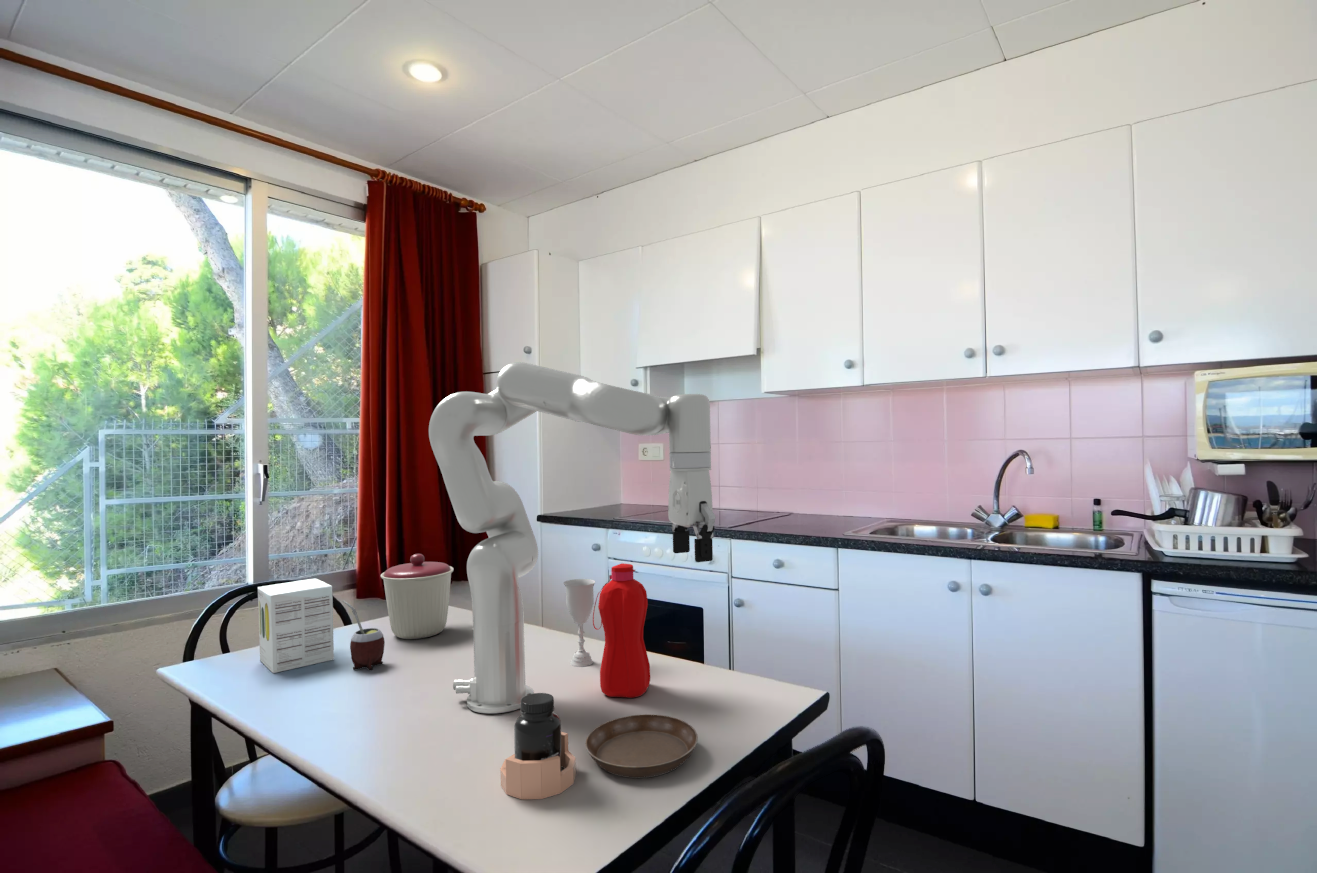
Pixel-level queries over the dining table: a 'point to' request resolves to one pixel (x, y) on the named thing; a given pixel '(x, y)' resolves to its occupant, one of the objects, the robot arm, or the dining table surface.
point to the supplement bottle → (537, 729)
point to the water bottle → (623, 635)
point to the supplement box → (295, 624)
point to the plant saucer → (641, 745)
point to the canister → (417, 597)
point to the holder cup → (539, 775)
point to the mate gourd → (366, 646)
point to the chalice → (580, 613)
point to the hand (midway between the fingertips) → (692, 556)
